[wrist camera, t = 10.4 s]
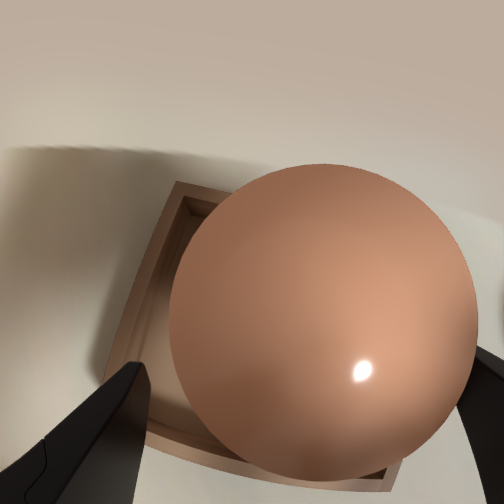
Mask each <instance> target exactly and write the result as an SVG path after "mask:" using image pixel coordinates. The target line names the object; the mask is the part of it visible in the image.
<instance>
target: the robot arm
mask: <svg viewBox="0 0 504 504" xmlns="http://www.w3.org/2000/svg"><path fill="white" fill-rule="evenodd" d="M150 394H151V383H150V379H149V376H148V373H147V370H146V367H145V365H144V363H143V362H137V361H129V362H127V363H126V364H125V365H124V366H122V367H121V368H120V369H119V370H118V371H117V372H116V373H115V374H114V375H113V376H111V377H110V378H109V379H108V380H107V381H106V382H105V383H104V384H103V385H101V386H100V387H99V388H98V389H97V390H96V391H95V392H94V393H93V394H91V395H90V396H89V397H88V398H87V399H86V400H85V401H84V402H83V403H81V404H80V405H79V406H78V407H77V408H76V409H75V410H74V411H73V412H71V413H70V414H69V415H68V416H67V417H66V418H65V419H64V420H63V421H61V422H60V423H59V424H58V425H57V426H56V427H55V428H54V429H53V430H52V431H50V432H49V433H48V434H47V435H46V436H45V437H44V439H41V440H40V441H39V442H38V443H37V444H36V445H35V446H34V447H32V448H31V449H30V450H29V451H28V452H27V453H25V454H24V455H23V456H22V457H21V458H19V459H18V460H17V461H15V462H14V463H13V464H11V465H10V466H9V467H7V468H6V469H4V470H3V471H2V472H0V504H132V503H133V498H134V492H135V487H136V482H137V477H138V472H139V467H140V462H141V458H142V453H143V449H144V444H145V439H146V431H147V421H148V412H149V403H150ZM456 406H457V409H458V412H459V415H460V417H461V420H462V423H463V425H464V428H465V431H466V434H467V437H468V440H469V443H470V446H471V449H472V452H473V455H474V458H475V461H476V465H477V468H478V471H479V475H480V479H481V482H482V486H483V490H484V494H485V498H486V502H487V504H504V360H502V359H501V358H499V357H497V356H495V355H493V354H492V353H490V352H488V351H486V350H484V349H483V348H481V347H479V346H476V353H475V357H474V361H473V365H472V369H471V372H470V375H469V378H468V381H467V383H466V386H465V388H464V391H463V392H462V394H461V396H460V398H459V400H458V402H457V404H456Z"/></svg>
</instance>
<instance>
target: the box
mask: <svg viewBox="0 0 504 504" xmlns="http://www.w3.org/2000/svg"><path fill="white" fill-rule="evenodd" d="M230 195H231V193H227V192H223V191H219V190H214V189H210V188H206V187H201V186H197V185H192V184H188V183H183V182H178V181H176V182H175V185H174V187H173V189H172V191H171V193H170V196H169V198H168V200H167V202H166V205H165V207H164V209H163V211H162V214H161V216H160V218H159V221H158V223H157V226H156V228H155V230H154V233H153V235H152V238H151V240H150V243H149V245H148V247H147V250H146V253H145V255H144V258H143V260H142V263H141V265H140V268H139V271H138V273H137V276H136V279H135V281H134V284H133V287H132V290H131V293H130V295H129V298H128V301H127V304H126V307H125V310H124V313H123V316H122V319H121V322H120V325H119V328H118V331H117V334H116V337H115V340H114V344H113V347H112V350H111V354H110V357H109V360H108V364H107V367H106V371H105V374H104V378H103V382H102V385H103V384H104V383H105V382H106V381H107V380H108V379H109V378H110V377H111V376H113V375H114V374H115V373H116V372H117V371H118V370H119V369H120V368H121V367H122V366H124V365H125V364H126V363H127V362H129V361H137V362H143V363H144V365H145V367H146V370H147V373H148V376H149V379H150V383H151V394H150V403H149V412H148V421H147V431H146V439H145V444H144V445H146V446H149V447H151V448H154V449H156V450H159V451H162V452H164V453H167V454H170V455H173V456H175V457H178V458H181V459H184V460H187V461H190V462H193V463H196V464H200V465H203V466H206V467H210V468H213V469H217V470H220V471H224V472H228V473H232V474H236V475H240V476H244V477H249V478H253V479H258V480H263V481H268V482H274V483H279V484H285V485H292V486H299V487H307V488H315V489H325V490H337V491H355V492H391V489H392V487H393V484H394V482H395V479H396V477H397V474H398V471H399V469H400V466H401V463H402V460H403V459H402V460H400V461H399V462H397V463H395V464H393V465H391V466H389V467H387V468H385V469H382V470H380V471H378V472H375V473H372V474H369V475H365V476H362V477H359V478H354V479H348V480H341V481H330V482H312V481H305V480H298V479H292V478H287V477H284V476H281V475H277V474H274V473H271V472H268V471H266V470H264V469H262V468H259V467H257V466H255V465H253V464H251V463H249V462H247V461H246V460H244V459H243V458H241V457H240V456H238V455H237V454H235V453H234V452H232V451H231V450H230V449H228V448H227V447H226V446H225V445H224V444H223V443H222V442H220V441H219V440H218V439H217V438H216V437H215V436H214V435H213V434H212V433H211V432H210V431H209V430H208V428H207V427H206V426H205V425H204V423H203V422H202V421H201V419H200V418H199V417H198V416H197V414H196V413H195V411H194V409H193V408H192V406H191V404H190V402H189V401H188V399H187V397H186V395H185V393H184V391H183V389H182V386H181V384H180V381H179V379H178V376H177V373H176V371H175V367H174V362H173V358H172V353H171V349H170V340H169V327H168V319H169V304H170V296H171V292H172V287H173V282H174V278H175V275H176V272H177V269H178V266H179V264H180V261H181V258H182V256H183V254H184V252H185V250H186V248H187V246H188V244H189V242H190V241H191V239H192V237H193V235H194V234H195V233H196V231H197V230H198V228H199V227H200V226H201V224H202V223H203V221H204V220H205V219H206V218H207V217H208V216H209V215H210V214H211V212H212V211H213V210H214V209H215V208H216V207H217V206H218V205H219V204H220V203H222V202H223V201H224V200H225V199H226V198H228V197H229V196H230Z"/></svg>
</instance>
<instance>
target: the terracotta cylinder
mask: <svg viewBox="0 0 504 504" xmlns="http://www.w3.org/2000/svg"><path fill="white" fill-rule="evenodd" d="M168 327H169V340H170V349H171V353H172V358H173V362H174V367H175V371H176V373H177V376H178V379H179V381H180V384H181V386H182V389H183V391H184V393H185V395H186V397H187V399H188V401H189V402H190V404H191V406H192V408H193V409H194V411H195V413H196V414H197V416H198V417H199V418H200V419H201V421H202V422H203V423H204V425H205V426H206V427H207V428H208V430H209V431H210V432H211V433H212V434H213V435H214V436H215V437H216V438H217V439H218V440H219V441H220V442H222V443H223V444H224V445H225V446H226V447H227V448H228V449H230V450H231V451H232V452H234V453H235V454H237V455H238V456H240V457H241V458H243V459H244V460H246V461H247V462H249V463H251V464H253V465H255V466H257V467H259V468H262V469H264V470H266V471H268V472H271V473H274V474H277V475H281V476H284V477H287V478H292V479H298V480H305V481H312V482H330V481H341V480H348V479H354V478H359V477H362V476H365V475H369V474H372V473H375V472H378V471H380V470H382V469H385V468H387V467H389V466H391V465H393V464H395V463H397V462H399V461H400V460H402V459H404V458H405V457H407V456H408V455H410V454H411V453H413V452H414V451H415V450H417V449H418V448H419V447H420V446H421V445H423V444H424V443H425V442H426V441H427V440H428V439H430V438H431V437H432V435H433V434H434V433H435V432H436V431H437V430H438V429H439V428H440V427H441V425H442V424H443V423H444V422H445V420H446V419H447V418H448V416H449V415H450V413H451V412H452V410H453V409H454V407H455V406H456V404H457V402H458V400H459V398H460V396H461V394H462V392H463V391H464V388H465V386H466V383H467V381H468V378H469V375H470V372H471V369H472V365H473V361H474V357H475V353H476V346H477V337H478V309H477V301H476V294H475V289H474V285H473V281H472V277H471V274H470V271H469V269H468V266H467V263H466V260H465V258H464V256H463V254H462V252H461V250H460V248H459V246H458V244H457V242H456V241H455V239H454V238H453V236H452V235H451V233H450V232H449V230H448V229H447V227H446V226H445V225H444V224H443V222H442V221H441V220H440V219H439V217H438V216H437V215H436V214H435V213H434V212H433V211H432V210H431V209H430V208H429V207H428V206H427V205H426V204H425V203H424V202H423V201H421V200H420V199H419V198H417V197H416V196H415V195H414V194H412V193H411V192H410V191H408V190H406V189H405V188H403V187H402V186H400V185H398V184H396V183H395V182H393V181H391V180H388V179H387V178H384V177H382V176H380V175H378V174H375V173H372V172H369V171H366V170H362V169H358V168H354V167H349V166H344V165H331V164H312V165H302V166H296V167H290V168H286V169H282V170H279V171H276V172H272V173H269V174H267V175H265V176H262V177H260V178H258V179H256V180H254V181H251V182H250V183H248V184H247V185H245V186H243V187H242V188H240V189H238V190H237V191H235V192H234V193H233V194H231V195H230V196H229V197H228V198H226V199H225V200H224V201H223V202H222V203H220V204H219V205H218V206H217V207H216V208H215V209H214V210H213V211H212V212H211V214H210V215H209V216H208V217H207V218H206V219H205V220H204V221H203V223H202V224H201V226H200V227H199V228H198V230H197V231H196V233H195V234H194V235H193V237H192V239H191V241H190V242H189V244H188V246H187V248H186V250H185V252H184V254H183V256H182V258H181V261H180V264H179V266H178V269H177V272H176V275H175V278H174V282H173V287H172V292H171V296H170V304H169V319H168Z"/></svg>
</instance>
